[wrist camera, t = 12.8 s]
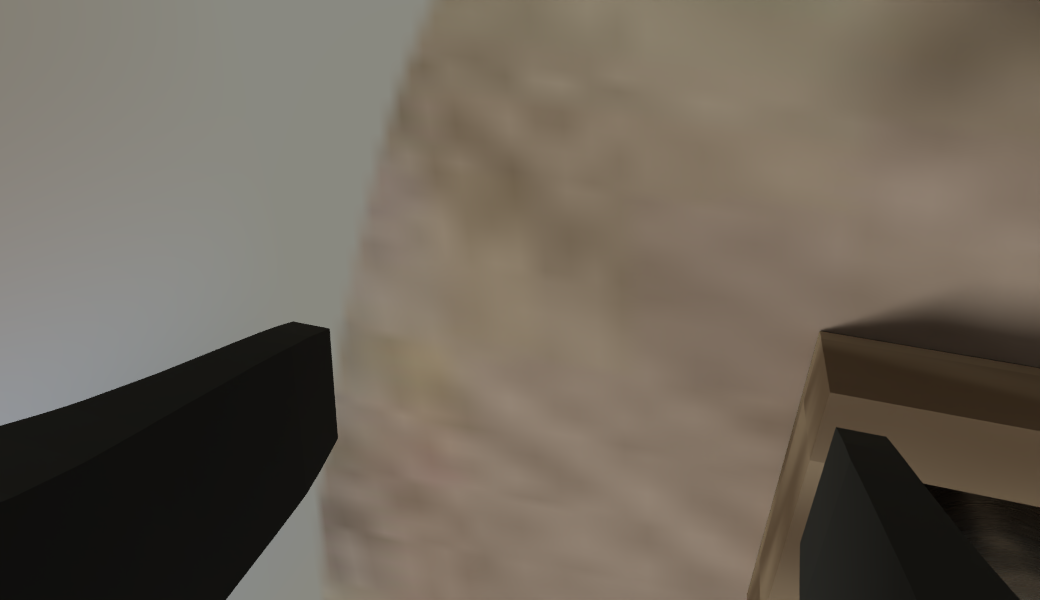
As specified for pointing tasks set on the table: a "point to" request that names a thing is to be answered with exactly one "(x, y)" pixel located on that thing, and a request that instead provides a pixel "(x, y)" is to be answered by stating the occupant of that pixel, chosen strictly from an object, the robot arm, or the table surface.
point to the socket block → (903, 433)
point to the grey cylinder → (999, 535)
